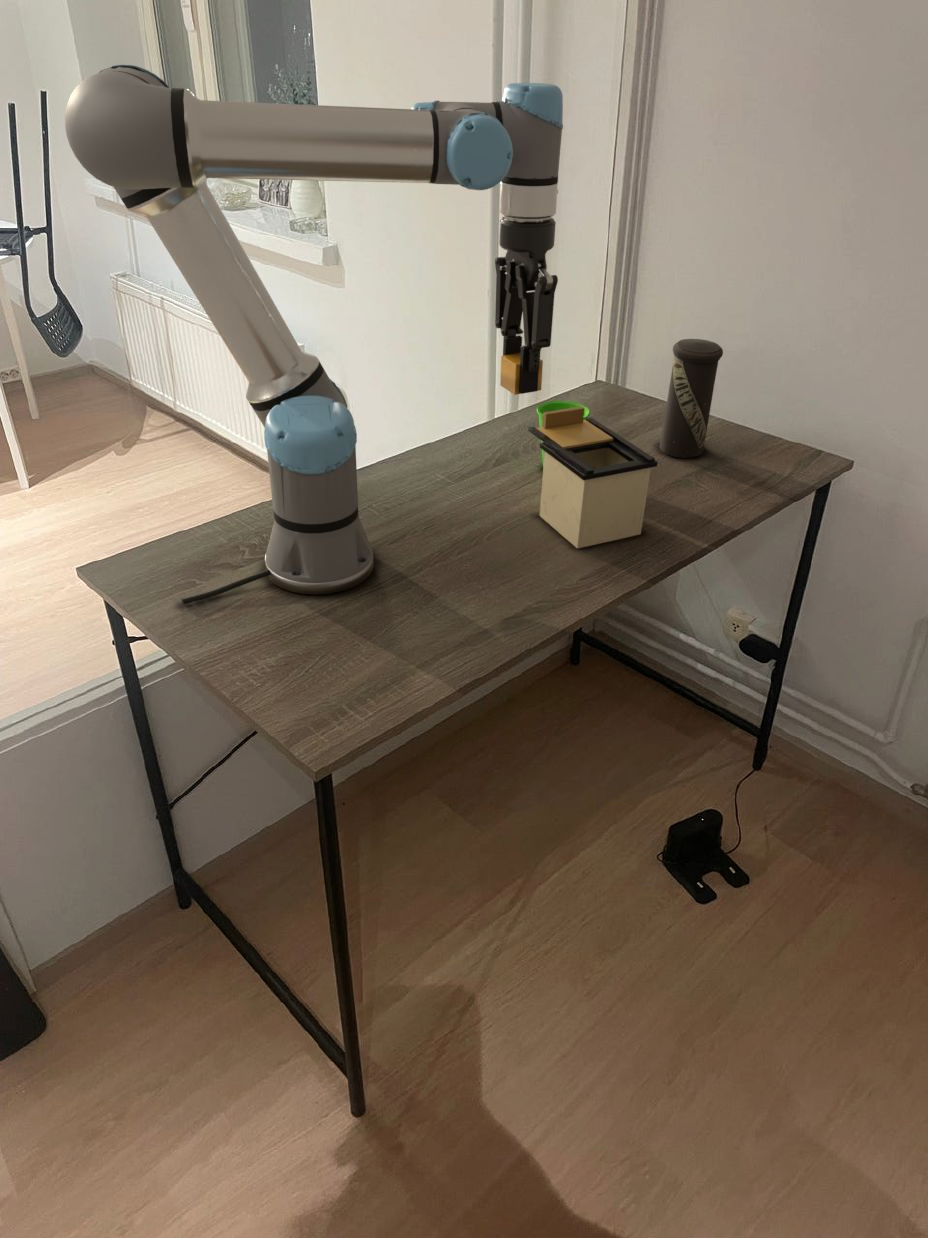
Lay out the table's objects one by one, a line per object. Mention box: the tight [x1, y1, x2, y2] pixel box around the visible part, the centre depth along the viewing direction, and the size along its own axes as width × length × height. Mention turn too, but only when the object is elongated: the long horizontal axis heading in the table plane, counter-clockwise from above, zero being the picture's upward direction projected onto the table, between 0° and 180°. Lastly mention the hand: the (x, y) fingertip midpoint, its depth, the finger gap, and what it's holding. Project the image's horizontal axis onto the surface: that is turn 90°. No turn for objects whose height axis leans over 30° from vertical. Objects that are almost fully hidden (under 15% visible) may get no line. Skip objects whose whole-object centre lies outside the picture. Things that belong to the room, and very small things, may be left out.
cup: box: [536, 400, 591, 467], centre depth 158 cm, size 9×9×11 cm
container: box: [659, 338, 724, 459], centre depth 164 cm, size 9×9×20 cm
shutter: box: [536, 406, 613, 449], centre depth 141 cm, size 9×8×3 cm
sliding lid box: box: [527, 416, 658, 549], centre depth 142 cm, size 13×18×13 cm
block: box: [499, 353, 544, 396], centre depth 134 cm, size 4×4×4 cm
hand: (519, 385), depth 135 cm, fingers closed on block, 4 cm apart
